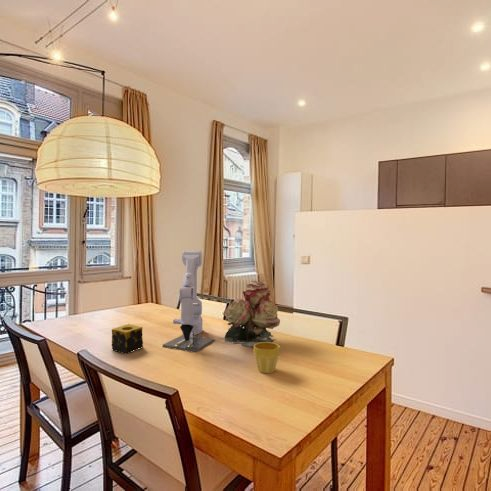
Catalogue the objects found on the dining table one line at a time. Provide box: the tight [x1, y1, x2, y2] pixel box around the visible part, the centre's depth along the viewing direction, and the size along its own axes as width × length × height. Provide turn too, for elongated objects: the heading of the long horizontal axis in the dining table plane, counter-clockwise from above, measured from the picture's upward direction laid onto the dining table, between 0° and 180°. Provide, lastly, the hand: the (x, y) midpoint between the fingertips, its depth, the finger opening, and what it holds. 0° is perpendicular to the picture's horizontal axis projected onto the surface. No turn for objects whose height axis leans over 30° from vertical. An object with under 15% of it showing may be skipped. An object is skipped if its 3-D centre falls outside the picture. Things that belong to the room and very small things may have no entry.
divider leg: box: [190, 331, 195, 345], centre depth 172 cm, size 14×3×3 cm, turn 9°
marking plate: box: [162, 334, 215, 353], centre depth 172 cm, size 18×18×2 cm
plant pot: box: [253, 342, 281, 374], centre depth 140 cm, size 10×10×10 cm
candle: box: [111, 323, 144, 354], centre depth 164 cm, size 10×10×10 cm
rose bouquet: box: [222, 280, 281, 348], centre depth 178 cm, size 26×29×30 cm
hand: (187, 340), depth 168 cm, fingers closed
